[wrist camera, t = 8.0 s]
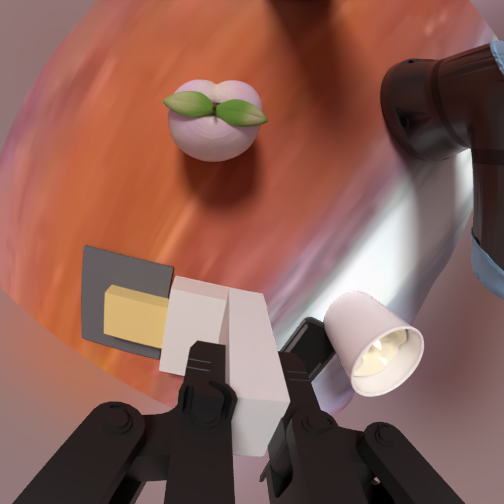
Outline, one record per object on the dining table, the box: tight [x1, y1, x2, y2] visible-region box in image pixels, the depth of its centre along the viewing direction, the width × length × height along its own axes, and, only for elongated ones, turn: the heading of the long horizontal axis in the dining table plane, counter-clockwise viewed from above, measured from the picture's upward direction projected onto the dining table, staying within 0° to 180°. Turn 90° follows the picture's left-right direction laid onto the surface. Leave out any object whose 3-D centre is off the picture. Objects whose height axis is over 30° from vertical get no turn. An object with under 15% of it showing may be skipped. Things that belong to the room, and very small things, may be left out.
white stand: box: [159, 276, 268, 376], centre depth 34 cm, size 11×12×4 cm
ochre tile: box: [104, 285, 169, 349], centre depth 33 cm, size 8×6×2 cm
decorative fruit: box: [163, 80, 268, 162], centre depth 25 cm, size 9×8×10 cm
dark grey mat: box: [81, 245, 173, 359], centre depth 34 cm, size 12×14×1 cm
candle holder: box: [324, 291, 424, 397], centre depth 33 cm, size 10×10×12 cm
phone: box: [280, 317, 336, 382], centre depth 39 cm, size 8×1×15 cm
